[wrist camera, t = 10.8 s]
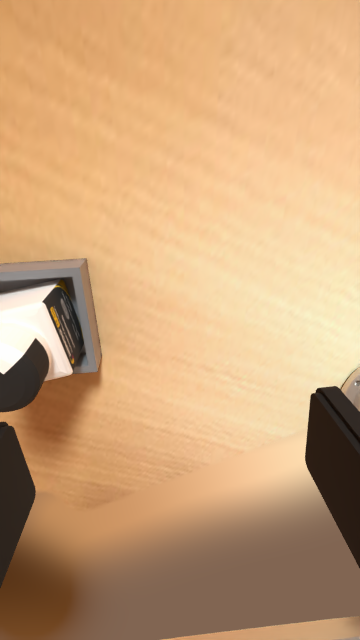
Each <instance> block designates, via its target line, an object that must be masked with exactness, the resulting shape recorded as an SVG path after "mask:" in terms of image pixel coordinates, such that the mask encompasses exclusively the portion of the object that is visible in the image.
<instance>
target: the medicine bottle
mask: <svg viewBox="0 0 360 640" xmlns="http://www.w3.org/2000/svg"><path fill="white" fill-rule="evenodd" d="M83 345H84V338H83V333H82V327H81V325H80V322H79V319H78V317H77V314H76V311H75V309H74V306H73V303H72V301H71V298H70V296H69V293H68V290H67V288H66V285H65V282H64V280H62V279H57V280H53V281H49V282H44V283H40V284H36V285H32V286H27V287H23V288H19V289H14V290H10V291H6V292H1V293H0V412H9V411H15V410H18V409H21V408H23V407H25V406H27V405H28V404H29V403H31V402H32V401H33V400H34V398H35V397H36V395H37V394H38V392H39V390H40V388H41V386H42V384H43V382H44V381H47V380H52V379H56V378H60V377H65V376H69V375H71V374H72V373H73V370H74V368H75V365H76V363H77V360H78V358H79V355H80V352H81V350H82V347H83Z"/></svg>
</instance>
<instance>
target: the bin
mask: <svg viewBox="0 0 360 640" xmlns="http://www.w3.org/2000/svg"><path fill="white" fill-rule="evenodd" d="M57 279H62V280H64V282H65V285H66V288H67V290H68V293H69V296H70V298H71V301H72V303H73V306H74V309H75V311H76V314H77V317H78V319H79V322H80V325H81V327H82V333H83V338H84V345H83V347H82V350H81V352H80V355H79V358H78V360H77V363H76V365H75V368H74V370H73V373H72V374H77V373H90V372H98V368H99V364H100V360H101V357H102V353H101V346H100V340H99V334H98V328H97V321H96V315H95V309H94V303H93V296H92V290H91V284H90V278H89V272H88V265H87V259H70V260H53V261H37V262H21V263H5V264H0V293H1V292H6V291H10V290H14V289H19V288H23V287H27V286H32V285H36V284H40V283H44V282H49V281H53V280H57Z"/></svg>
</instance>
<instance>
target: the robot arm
mask: <svg viewBox="0 0 360 640" xmlns="http://www.w3.org/2000/svg"><path fill="white" fill-rule="evenodd" d="M305 460H306V465H307V468H308V470H309V472H310V474H311V476H312V477H313V480H314V482H315V483H316V485H317V487H318V489H319V491H320V493H321V495H322V497H323V499H324V501H325V502H326V505H327V507H328V508H329V510H330V512H331V514H332V516H333V518H334V520H335V522H336V524H337V526H338V528H339V529H340V531H341V533H342V535H343V537H344V539H345V541H346V543H347V545H348V547H349V549H350V550H351V552H352V554H353V556H354V558H355V560H356V562H357V564H358V566H359V568H360V367H359V368H357V369H356V370H355V371H354V372H353V373H352V374H351V375H350V377H349V378H348V379H347V381H346V382H345V384H344V386H343V387H342V389H341V390H340V389H339V388H338V387H336V386H333V387H323V388H318V389H317V390H316V393H313V394H311V399H310V410H309V421H308V432H307V444H306V455H305ZM34 499H35V486H34V483H33V480H32V478H31V475H30V472H29V469H28V466H27V464H26V461H25V458H24V455H23V452H22V450H21V447H20V444H19V441H18V438H17V436H16V433H15V430H14V428H13V427H12V426H8V424H7V423H6V422H0V587H1V585H2V582H3V580H4V577H5V574H6V572H7V569H8V567H9V564H10V562H11V559H12V557H13V554H14V551H15V549H16V546H17V543H18V541H19V538H20V536H21V533H22V531H23V528H24V525H25V523H26V520H27V518H28V515H29V512H30V510H31V507H32V504H33V502H34ZM162 640H360V616H357V617H346V618H336V619H327V620H319V621H310V622H302V623H294V624H286V625H277V626H268V627H260V628H252V629H243V630H235V631H226V632H218V633H210V634H203V635H194V636H186V637H178V638H170V639H162Z"/></svg>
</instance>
